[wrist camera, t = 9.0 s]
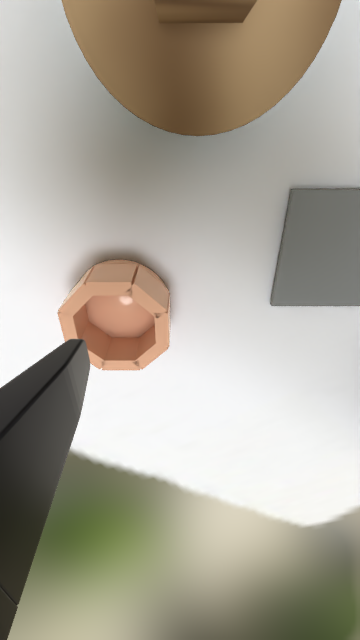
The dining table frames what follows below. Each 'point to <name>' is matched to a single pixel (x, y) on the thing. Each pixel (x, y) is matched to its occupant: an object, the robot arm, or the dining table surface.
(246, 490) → the dining table surface
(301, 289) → the mat
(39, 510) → the robot arm
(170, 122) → the lid
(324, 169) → the dining table surface
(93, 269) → the small bowl
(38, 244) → the dining table surface
